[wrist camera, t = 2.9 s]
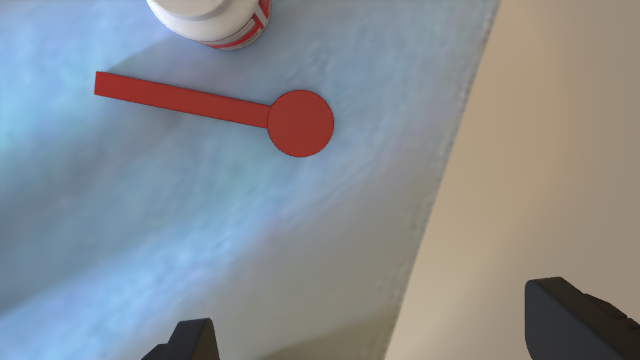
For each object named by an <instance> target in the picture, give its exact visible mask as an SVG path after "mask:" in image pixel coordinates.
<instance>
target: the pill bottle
mask: <svg viewBox="0 0 640 360" xmlns="http://www.w3.org/2000/svg"><path fill="white" fill-rule="evenodd" d="M147 2H148V4H149V6H150V8H151V9H152V11H153V12H154V14H155V15H156V16H157V18H158V19H159V20H160V21H161V22H162V23H163V24H164V25H166V26H167V27H168V28H169V29H171V30H172V31H174V32H175V33H177V34H179V35H181V36H183V37H186V38H188V39H191V40H194V41H196V42H199V43H201V44H205V45H208V46H211V47H213V48H217V49H222V50H235V49H240V48H243V47H245V46H248V45H249V44H251V43H253V42H254V41H255V40H256V39H257V38H258V37H259V36H260V35H261V34H262V33H263V31H264V29H265V28H266V26H267V23H268V21H269V18H270V13H271V0H147Z"/></svg>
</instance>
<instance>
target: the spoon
mask: <svg viewBox="0 0 640 360" xmlns="http://www.w3.org/2000/svg"><path fill="white" fill-rule="evenodd" d="M94 94H95V95H100V96H105V97H110V98H115V99H120V100H125V101H130V102H135V103H140V104H145V105H150V106H155V107H160V108H166V109H171V110H176V111H181V112H186V113H191V114H196V115H201V116H206V117H211V118H216V119H221V120H226V121H231V122H236V123H241V124H247V125H252V126H257V127H262V128H267V130H268V134H269V136H270V139H271V140H272V142H273V143H274V145H275V146H276V147H277V148H278V149H279V150H281V151H282V152H284V153H285V154H288V155H290V156H294V157H307V156H311V155H313V154H316V153H317V152H319V151H320V150H322V149H323V148H324V147H325V146H326V145H327V143H328V142H329V140H330V138H331V136H332V133H333V128H334V119H333V114H332V112H331V109H330V107H329V106H328V104H327V103H326V102H325V100H324V99H323V98H321V97H320V96H319V95H317V94H315V93H313V92H311V91H307V90H293V91H290V92H287V93H285V94H283V95H282V96H280V97H279V98H278V99H277V100H276V101H275V102H274V103H273V105H272V106H270V105H265V104H260V103H255V102H250V101H245V100H240V99H235V98H230V97H225V96H220V95H215V94H210V93H205V92H200V91H195V90H191V89H186V88H181V87H176V86H171V85H166V84H161V83H156V82H151V81H146V80H141V79H136V78H131V77H126V76H121V75H116V74H111V73H106V72H98V71H97V72H96V78H95V90H94Z"/></svg>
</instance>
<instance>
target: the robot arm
mask: <svg viewBox="0 0 640 360" xmlns="http://www.w3.org/2000/svg"><path fill="white" fill-rule="evenodd" d="M525 340H526V345H527V348H528V351H529V353H530V356H531V358H532V359H533V360H640V325H639V324H638V323H637V322H635V321H634V320H633V319H631V318H628V317H627V315H626V314H624V313H622V312H621V311H620V310H619V309H617V308H616V307H614V306H613V305H612V304H610V303H608V302H605V301H603V300H601V299H598V298H596V297H594V296H591V295H589V294H583V293H582V292H581V291H579V290H578V289H577V288H575V287H574V286H572V285H571V284H570V283H569V282H567V281H566V280H564V279H563V278H562V277H551V278H543V279H535V280H529V281H528V282H527V283H526V285H525ZM141 360H220V358H219V353H218V347H217V342H216V337H215V331H214V326H213V322H212V320H211V319H210V318H203V319H195V320H187V321H180V322H179V323H178V324H177V326H176V328H175V330H174V332H173V334H172V336H171V337H170V339H169V341H168V343H166V344H158V345H157V346H156V347H155V348H153V349H152V350H151V351H150V352H149V353H148V354H147V355H146V356H144V357H143V358H142V359H141Z"/></svg>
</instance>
